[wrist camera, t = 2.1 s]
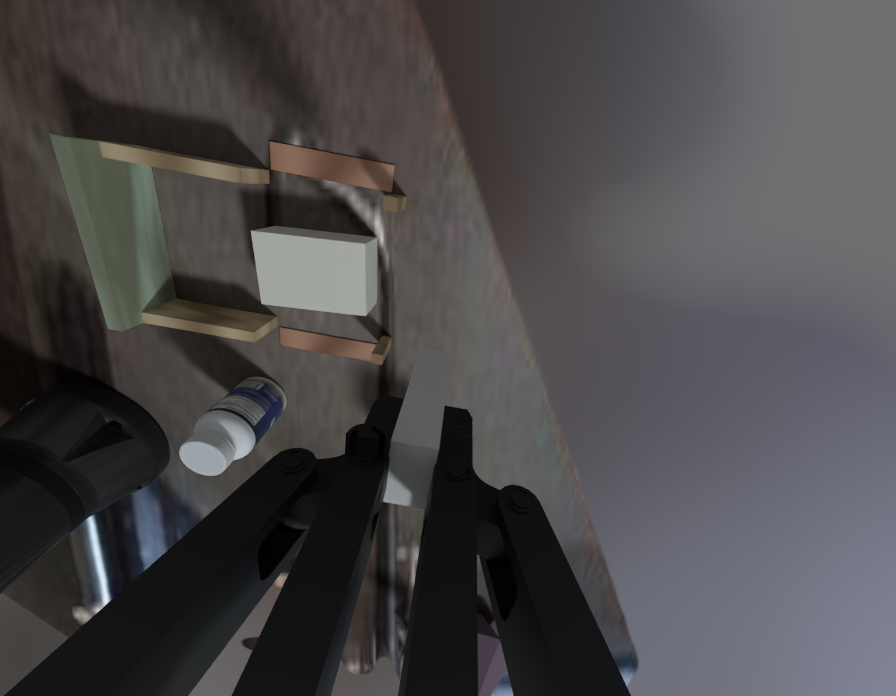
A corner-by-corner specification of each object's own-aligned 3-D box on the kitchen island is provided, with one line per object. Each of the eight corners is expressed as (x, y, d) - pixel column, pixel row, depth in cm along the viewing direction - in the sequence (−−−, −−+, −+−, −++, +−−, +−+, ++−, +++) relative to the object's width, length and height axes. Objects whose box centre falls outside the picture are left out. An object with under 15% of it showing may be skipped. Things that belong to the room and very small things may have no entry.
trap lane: (170, 325, 34) (114, 351, 29) (126, 113, 26) (37, 94, 21) (388, 363, 35) (374, 396, 29) (409, 168, 27) (395, 163, 21)
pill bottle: (272, 423, 39) (215, 491, 30) (231, 394, 38) (159, 458, 29) (297, 396, 37) (244, 461, 28) (255, 366, 36) (186, 424, 27)
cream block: (284, 290, 32) (261, 304, 29) (277, 225, 30) (250, 230, 26) (377, 301, 32) (365, 316, 29) (377, 237, 30) (365, 243, 26)
